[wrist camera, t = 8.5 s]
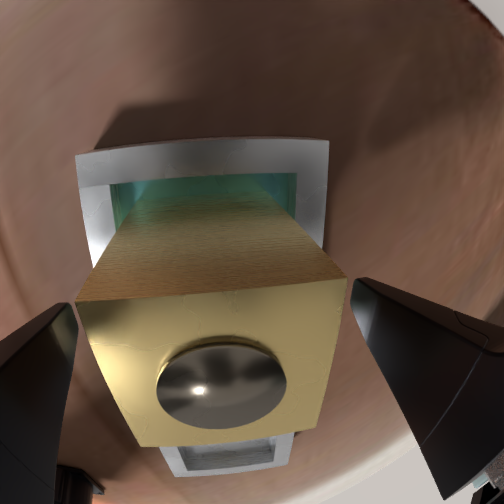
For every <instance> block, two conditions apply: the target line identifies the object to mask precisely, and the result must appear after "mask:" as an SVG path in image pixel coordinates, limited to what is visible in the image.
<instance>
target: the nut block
mask: <svg viewBox="0 0 504 504" xmlns="http://www.w3.org/2000/svg"><path fill="white" fill-rule="evenodd" d="M347 281H348V277H347V276H346V275H345V274H344V273H343V272H342V271H341V269H340V268H339V267H338V266H337V265H336V264H335V263H334V262H333V261H332V260H331V259H330V257H329V256H328V255H327V254H326V253H325V252H324V251H323V250H322V249H321V248H320V247H319V246H318V245H317V243H316V242H315V241H314V240H313V239H312V238H311V237H310V236H309V235H308V234H307V233H306V232H305V231H304V230H303V229H302V228H301V227H300V225H299V224H298V223H297V222H296V221H295V220H294V219H293V218H292V217H291V216H290V215H289V214H288V213H287V212H286V211H285V210H284V209H283V208H282V207H281V206H280V205H279V204H278V203H277V202H276V201H275V200H274V199H273V198H272V197H271V196H270V195H269V194H268V193H267V192H266V191H256V192H237V193H220V194H206V195H192V196H180V197H168V198H158V199H147V200H138V201H136V203H135V204H134V206H133V207H132V209H131V210H130V212H129V213H128V214H127V216H126V217H125V219H124V220H123V222H122V223H121V225H120V226H119V228H118V230H117V231H116V233H115V234H114V236H113V237H112V239H111V240H110V242H109V244H108V245H107V247H106V248H105V250H104V252H103V253H102V255H101V256H100V258H99V260H98V261H97V263H96V265H95V266H94V268H93V270H92V272H91V273H90V275H89V277H88V278H87V280H86V282H85V284H84V285H83V287H82V289H81V291H80V293H79V294H78V296H77V298H76V300H75V305H76V308H77V311H78V313H79V316H80V319H81V322H82V325H83V327H84V330H85V333H86V335H87V338H88V340H89V343H90V346H91V348H92V350H93V353H94V355H95V358H96V360H97V362H98V365H99V367H100V369H101V371H102V374H103V376H104V378H105V380H106V382H107V384H108V387H109V389H110V391H111V393H112V395H113V397H114V399H115V401H116V403H117V405H118V407H119V409H120V411H121V412H122V414H123V416H124V418H125V420H126V422H127V424H128V425H129V427H130V429H131V431H132V433H133V434H134V436H135V438H136V439H137V441H138V443H139V444H140V446H141V447H174V446H195V445H209V444H220V443H229V442H238V441H245V440H252V439H259V438H265V437H271V436H277V435H282V434H288V433H293V432H297V431H302V430H307V429H311V428H315V427H316V424H317V421H318V417H319V413H320V410H321V406H322V402H323V398H324V394H325V390H326V386H327V382H328V378H329V374H330V369H331V365H332V360H333V356H334V351H335V346H336V342H337V337H338V332H339V327H340V321H341V316H342V310H343V305H344V299H345V293H346V287H347Z"/></svg>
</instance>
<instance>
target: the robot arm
mask: <svg viewBox="0 0 504 504" xmlns="http://www.w3.org/2000/svg"><path fill="white" fill-rule="evenodd" d="M350 305H351V308H352V311H353V313H354V315H355V318H356V320H357V322H358V325H359V327H360V330H361V332H362V334H363V337H364V339H365V341H366V343H367V345H368V347H369V349H370V351H371V353H372V355H373V357H374V358H375V360H376V362H377V364H378V366H379V368H380V370H381V372H382V373H383V375H384V377H385V379H386V381H387V383H388V385H389V387H390V389H391V391H392V393H393V394H394V396H395V398H396V400H397V402H398V404H399V406H400V408H401V410H402V412H403V414H404V416H405V418H406V420H407V422H408V424H409V426H410V428H411V430H412V432H413V435H414V437H415V439H416V441H417V443H418V445H419V447H420V449H421V452H422V454H423V456H424V458H425V460H426V462H427V465H428V467H429V469H430V471H431V473H432V476H433V478H434V480H435V482H436V485H437V487H438V489H439V492H440V494H441V496H442V498H443V500H446V499H447V498H449V497H451V496H452V495H454V494H455V493H457V492H458V491H460V490H462V489H463V488H464V487H466V486H467V485H469V484H470V483H472V482H473V481H474V480H476V479H477V478H478V477H480V476H481V475H482V474H485V475H486V477H487V479H488V480H489V482H488V483H487V484H485V485H484V486H483V487H482V488H480V489H479V490H478V491H477V492H475V493H474V494H473V497H472V501H471V504H504V327H501V326H498V325H495V324H491V323H488V322H485V321H482V320H479V319H477V318H474V317H471V316H468V315H466V314H463V313H460V312H458V311H453V310H452V309H450V308H447V307H445V306H442V305H439V304H437V303H434V302H432V301H429V300H426V299H424V298H421V297H418V296H416V295H413V294H411V293H408V292H405V291H403V290H400V289H397V288H395V287H392V286H389V285H387V284H384V283H381V282H379V281H376V280H373V279H370V278H368V277H363V278H357V279H355V281H354V283H353V288H352V294H351V299H350ZM77 337H78V323H77V321H76V318H75V315H74V312H73V309H72V306H71V305H70V304H69V303H67V302H65V303H57V304H55V305H54V306H52V307H51V308H49V309H47V310H46V311H44V312H43V313H41V314H40V315H38V316H37V317H35V318H34V319H32V320H31V321H29V322H28V323H26V324H25V325H23V326H22V327H20V328H19V329H17V330H16V331H14V332H13V333H11V334H10V335H8V336H7V337H6V338H4V339H3V340H1V341H0V504H92V498H93V494H99V495H104V490H102V489H101V488H100V487H99V486H98V485H97V484H96V483H95V482H94V481H93V480H92V479H91V478H90V477H89V476H88V475H87V474H86V473H85V472H84V471H82V470H79V469H73V468H67V467H61V466H56V465H57V456H58V448H59V441H60V434H61V427H62V421H63V416H64V410H65V405H66V400H67V395H68V390H69V385H70V381H71V376H72V372H73V365H74V358H75V351H76V344H77Z"/></svg>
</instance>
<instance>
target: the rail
mask: <svg viewBox="0 0 504 504" xmlns="http://www.w3.org/2000/svg"><path fill="white" fill-rule="evenodd" d="M75 158H76V168H77V177H78V185H79V192H80V199H81V206H82V212H83V218H84V224H85V229H86V234H87V239H88V244H89V249H90V254H91V258H92V263H93V267H94V266H95V265H96V263H97V261H98V260H99V258H100V256H101V255H102V253H103V252H104V250H105V248H106V247H107V245H108V244H109V242H110V240H111V239H112V237H113V236H114V234H115V233H116V231H117V230H118V228H119V226H120V225H121V223H122V222H123V220H124V219H125V217H126V216H127V214H128V213H129V212H130V210H131V209H132V207H133V206H134V204H135V203H136V201H138V200H147V199H158V198H168V197H180V196H192V195H206V194H220V193H237V192H256V191H266V192H267V193H268V194H269V195H270V196H271V197H272V198H273V199H274V200H275V201H276V202H277V203H278V204H279V205H280V206H281V207H282V208H283V209H284V210H285V211H286V212H287V213H288V214H289V215H290V216H291V217H292V218H293V219H294V220H295V221H296V222H297V223H298V224H299V225H300V227H301V228H302V229H303V230H304V231H305V232H306V233H307V234H308V235H309V236H310V237H311V238H312V239H313V240H314V241H315V242H316V243H317V245H318V246H319V247H320V248H321V249H322V245H323V234H324V222H325V209H326V195H327V179H328V160H329V141H327V140H322V139H316V138H311V137H281V136H246V137H213V138H195V139H180V140H168V141H157V142H147V143H138V144H130V145H122V146H115V147H108V148H101V149H95V150H91V151H87V152H84V153H81V154H78V155H75ZM294 433H295V432H293V433H288V434H282V435H277V436H271V437H265V438H259V439H252V440H245V441H238V442H229V443H220V444H209V445H195V446H174V447H159V448H160V450H161V452H162V454H163V456H164V458H165V460H166V461H167V463H168V465H169V467H170V469H171V471H172V472H173V474H174V476H175V477H190V476H207V475H220V474H230V473H238V472H246V471H253V470H260V469H266V468H272V467H278V466H283V465H287V464H288V460H289V456H290V451H291V447H292V442H293V437H294Z"/></svg>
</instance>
